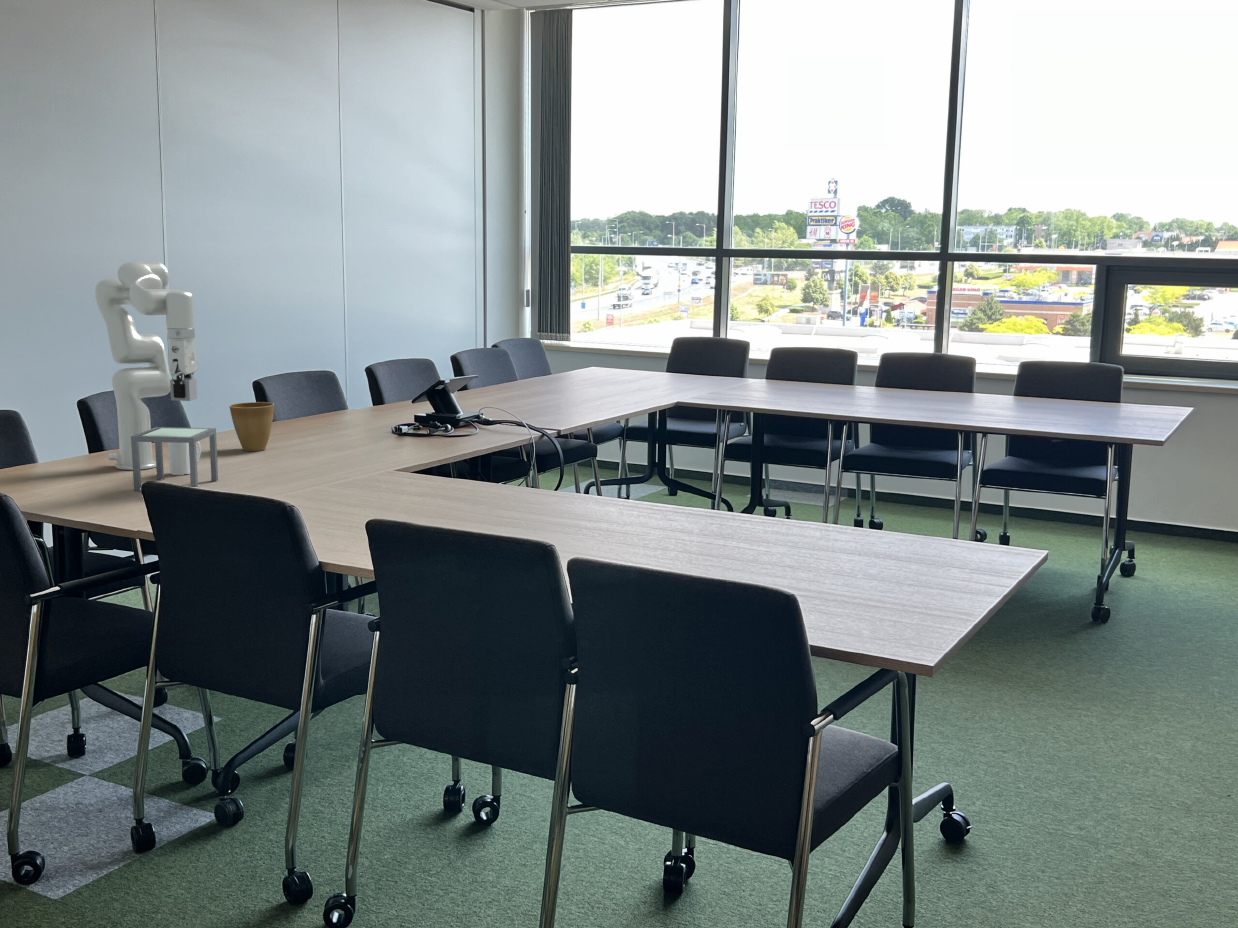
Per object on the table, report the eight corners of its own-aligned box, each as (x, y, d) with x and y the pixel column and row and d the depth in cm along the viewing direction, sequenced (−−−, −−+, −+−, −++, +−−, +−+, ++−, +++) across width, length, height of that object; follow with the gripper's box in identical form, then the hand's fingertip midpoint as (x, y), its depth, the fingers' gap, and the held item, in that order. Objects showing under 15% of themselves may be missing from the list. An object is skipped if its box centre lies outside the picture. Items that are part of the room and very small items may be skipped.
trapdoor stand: (134, 490, 331) (130, 436, 328) (159, 478, 348) (156, 427, 345) (196, 492, 331) (193, 437, 328) (218, 480, 348) (215, 428, 345)
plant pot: (275, 445, 410) (273, 401, 407) (276, 452, 396) (274, 406, 393) (231, 446, 405) (229, 402, 402) (231, 454, 391) (229, 408, 388)
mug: (174, 476, 352) (172, 438, 350) (166, 473, 357) (163, 435, 355) (206, 472, 359) (204, 435, 357) (197, 469, 364) (196, 432, 362)
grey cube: (171, 400, 332) (170, 379, 331) (178, 397, 338) (177, 377, 336) (189, 401, 332) (189, 380, 331) (196, 398, 338) (196, 378, 336)
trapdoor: (141, 439, 330) (141, 435, 330) (161, 431, 344) (161, 428, 343) (189, 440, 330) (189, 436, 330) (207, 432, 344) (207, 429, 343)
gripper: (182, 337, 323) (185, 400, 326) (204, 332, 340) (207, 392, 343) (156, 336, 323) (159, 400, 326) (179, 331, 340) (182, 392, 343)
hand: (183, 395), depth 335 cm, fingers closed on grey cube, 5 cm apart
